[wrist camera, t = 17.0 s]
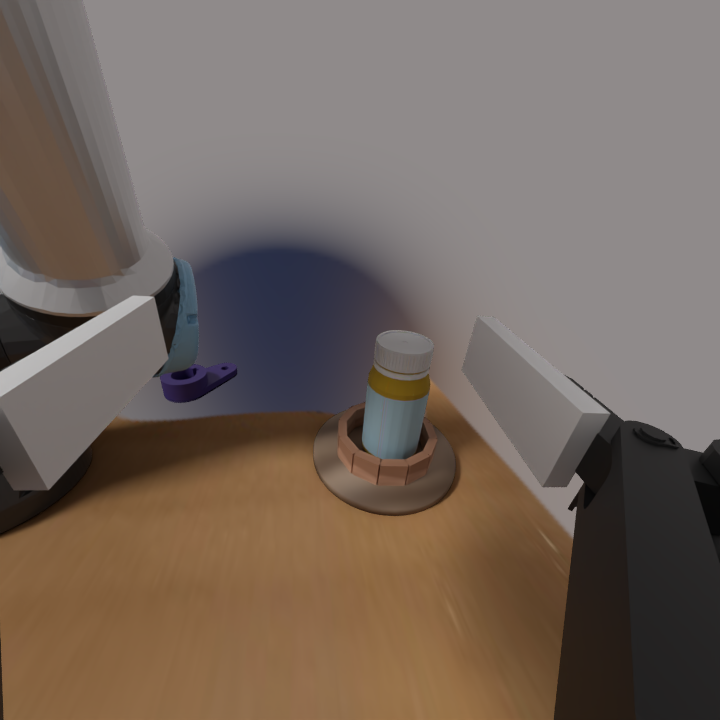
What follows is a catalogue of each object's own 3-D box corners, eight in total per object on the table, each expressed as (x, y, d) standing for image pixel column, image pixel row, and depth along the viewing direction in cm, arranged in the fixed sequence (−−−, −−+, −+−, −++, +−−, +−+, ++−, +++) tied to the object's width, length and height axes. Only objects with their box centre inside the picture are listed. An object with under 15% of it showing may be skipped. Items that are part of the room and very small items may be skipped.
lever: (179, 408, 46) (174, 390, 45) (156, 392, 49) (151, 374, 48) (246, 376, 55) (245, 360, 54) (223, 364, 58) (221, 349, 57)
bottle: (406, 477, 37) (429, 362, 30) (352, 455, 39) (361, 345, 32) (421, 440, 42) (444, 337, 35) (373, 423, 45) (385, 324, 38)
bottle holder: (290, 433, 43) (290, 410, 41) (393, 399, 52) (397, 378, 50) (365, 547, 30) (369, 520, 28) (484, 474, 39) (493, 450, 37)
